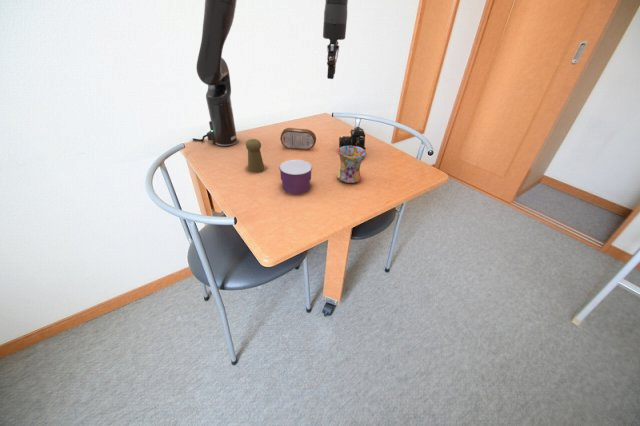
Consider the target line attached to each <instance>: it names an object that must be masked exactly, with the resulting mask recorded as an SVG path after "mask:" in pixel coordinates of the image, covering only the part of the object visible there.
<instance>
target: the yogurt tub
mask: <svg viewBox="0 0 640 426" xmlns="http://www.w3.org/2000/svg"><path fill="white" fill-rule="evenodd" d="M278 167H279V171H280V180H281V184H282V185H281V187H282V190H283V191H284V192H285V193H287V194H290V195H300V194H301V195H302V194H305V193H307V192H309V190H310V188H311V179H312V170H313V165H312V164H311V163H310V162H308V161H306V160H303V159H289V160H285V161H283V162H281V164H279V166H278Z"/></svg>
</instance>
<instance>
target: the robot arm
mask: <svg viewBox="0 0 640 426" xmlns="http://www.w3.org/2000/svg"><path fill="white" fill-rule="evenodd" d="M237 2H238V0H204V11H203V20H202V21H203V22H202V30H201V31H202V32H201V40H200V41H201V42H200V47H199V50H198V51H199V52H198V55H197V60H196V61H197V62H196V69H195V70H196V73H197V76H198V78H199V80H200V81H201V82H202V83H203V84H204V85H207V90H206V93H205V99H206V104H207V105H206V106H207V111H208V114H209V119H210V120H209V122H208V124H209V129H210V130H209V131H208V132H207V133H206V134H204V135H203V136H202V138H200V139H199V138H192V141H194V142H195V141H196V142H203V141H205V138H207V141H208V142H209V141H210V142H212V144H213V145H216V146H219V147H231V146H234V145H236V144H237V143H238V136H237V130H236V124H235V118H234V112H233V111H234V110H233V105H232V99H231V97H232V96H231V95H232V85H231V76H230V75H231V74H230V70H229V66H228V64H227V62H226V60H225V59H224V58H223V57H222V56H223V51H224V46H225V43H226V41H227V39H228V36H229V34H230V32H231V29H232V27H233V23H234V19H235V13H236V8H237ZM348 3H349V0H325V4H324V10H323V11H324V12H323V25H322V26H323V28H322V38H323V39H325V40H329V43H328V44H327V47H326V51H327V52H326V53H327V54H326V60H327V61H326V66H327V80H334V78H335V73H336V67H337V65H336V64H337V62H338V58H339V52H340V45H339V41H343V40H345V39H346V34H347V23H348Z"/></svg>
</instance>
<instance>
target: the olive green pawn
mask: <svg viewBox="0 0 640 426" xmlns="http://www.w3.org/2000/svg"><path fill="white" fill-rule="evenodd" d="M245 147H246V150H247V171H248V172H250V173H253V174H254V173H255V174H257V173H260V172H263V171H264V170H265V165H264V161H263V160H264V159H263V155H262V152H261V148H262V143H261V140H259V139H257V138H250V139H248V140H246V142H245Z"/></svg>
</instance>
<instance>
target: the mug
mask: <svg viewBox="0 0 640 426" xmlns="http://www.w3.org/2000/svg"><path fill="white" fill-rule="evenodd" d="M337 152H338V155H339V159H340V168H339V171H338V173H337V175H336V176H337V179H338V180H339V181H340V182H342V183H347V184H355V183H358V182H359V181H361V179H362V175H361V170H360V169H361V164H362V161H363V159H364V158H365V156H366V154H367V151H366V149H365V150H364V149H362V148H360V147H357V146H343V147H341V148H339V147H338V149H337Z"/></svg>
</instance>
